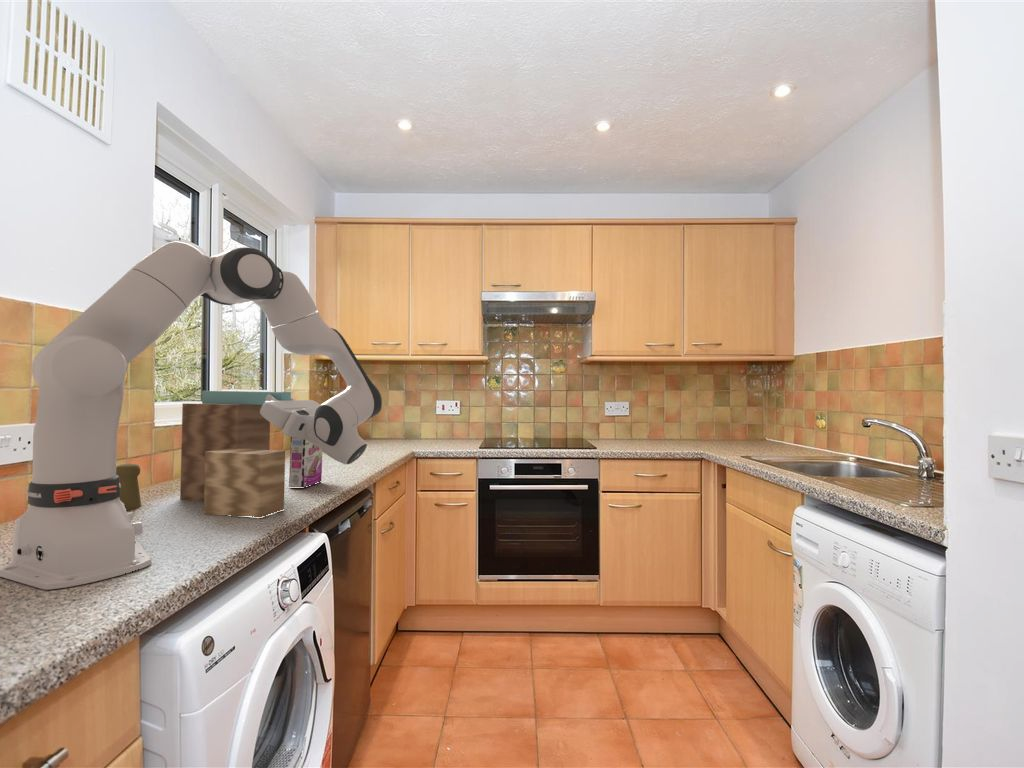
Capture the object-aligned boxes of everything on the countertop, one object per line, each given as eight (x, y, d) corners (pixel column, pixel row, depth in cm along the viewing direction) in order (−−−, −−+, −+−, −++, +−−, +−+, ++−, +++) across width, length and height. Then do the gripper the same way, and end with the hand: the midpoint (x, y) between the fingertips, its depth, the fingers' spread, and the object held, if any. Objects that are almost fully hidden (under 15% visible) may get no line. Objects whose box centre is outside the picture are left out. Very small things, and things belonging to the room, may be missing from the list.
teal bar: (290, 404, 135) (290, 392, 135) (281, 405, 132) (282, 392, 132) (212, 403, 141) (212, 390, 141) (201, 403, 138) (202, 390, 138)
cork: (115, 512, 119) (116, 466, 119) (107, 508, 123) (108, 464, 123) (144, 507, 124) (146, 464, 124) (136, 504, 128) (138, 461, 128)
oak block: (283, 511, 123) (285, 450, 123) (260, 519, 115) (261, 454, 115) (230, 506, 126) (231, 448, 127) (203, 514, 119) (205, 451, 119)
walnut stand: (268, 494, 141) (270, 403, 142) (235, 503, 130) (238, 404, 130) (216, 490, 145) (218, 402, 146) (180, 499, 134) (182, 403, 134)
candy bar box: (303, 489, 149) (304, 435, 149) (288, 488, 150) (289, 434, 150) (322, 482, 160) (323, 432, 160) (308, 482, 161) (309, 431, 161)
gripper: (340, 411, 141) (304, 387, 144) (292, 414, 121) (252, 386, 124) (330, 430, 142) (294, 405, 145) (281, 436, 122) (241, 407, 125)
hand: (274, 396), depth 134 cm, fingers closed on teal bar, 3 cm apart
